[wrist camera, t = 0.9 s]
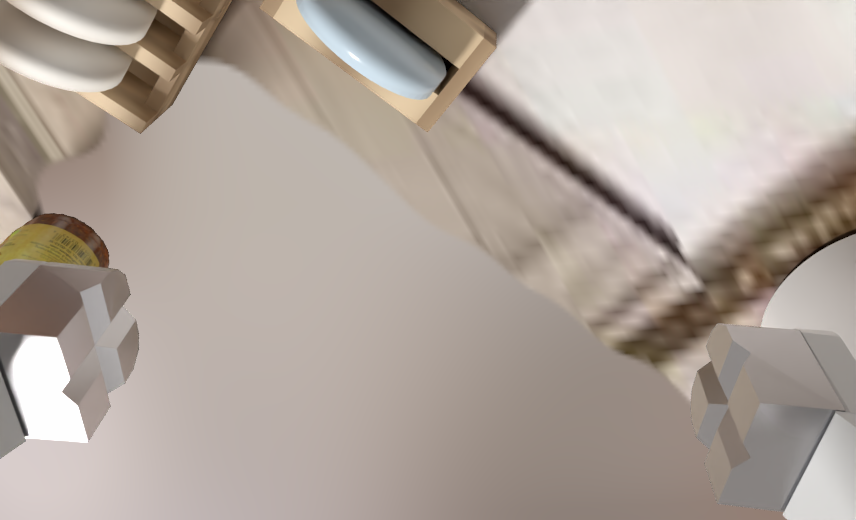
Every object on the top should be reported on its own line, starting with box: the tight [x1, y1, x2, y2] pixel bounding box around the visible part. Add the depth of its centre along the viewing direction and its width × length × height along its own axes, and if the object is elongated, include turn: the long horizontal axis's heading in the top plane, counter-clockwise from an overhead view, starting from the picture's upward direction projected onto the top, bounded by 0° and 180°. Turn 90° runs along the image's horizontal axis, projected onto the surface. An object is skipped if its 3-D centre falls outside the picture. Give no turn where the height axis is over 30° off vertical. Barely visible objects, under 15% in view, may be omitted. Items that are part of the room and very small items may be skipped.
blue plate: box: [296, 0, 446, 100], centre depth 35 cm, size 8×1×8 cm, turn 53°
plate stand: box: [260, 0, 496, 132], centre depth 37 cm, size 11×6×3 cm, turn 53°
